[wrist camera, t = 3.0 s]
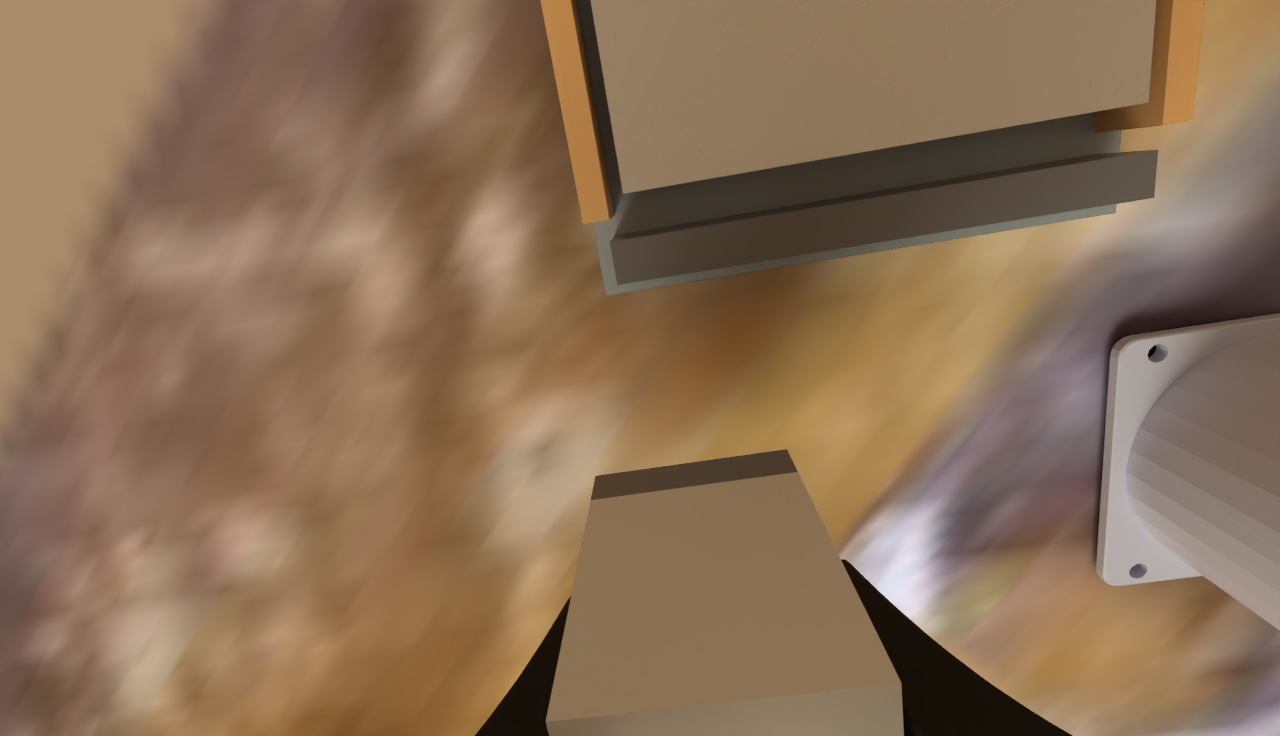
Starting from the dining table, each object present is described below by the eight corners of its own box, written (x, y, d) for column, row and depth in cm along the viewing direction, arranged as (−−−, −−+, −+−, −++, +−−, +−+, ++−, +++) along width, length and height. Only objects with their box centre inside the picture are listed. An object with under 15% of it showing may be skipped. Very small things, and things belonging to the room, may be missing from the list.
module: (787, 449, 12) (901, 683, 7) (806, 646, 14) (915, 978, 8) (595, 475, 13) (545, 721, 7) (635, 666, 14) (621, 1000, 8)
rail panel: (1122, -322, 13) (1249, -459, 10) (1093, 211, 16) (1182, 217, 13) (520, -190, 13) (487, -282, 11) (608, 290, 17) (599, 311, 14)
